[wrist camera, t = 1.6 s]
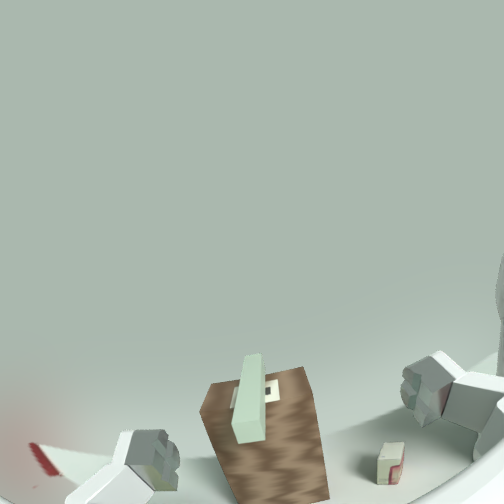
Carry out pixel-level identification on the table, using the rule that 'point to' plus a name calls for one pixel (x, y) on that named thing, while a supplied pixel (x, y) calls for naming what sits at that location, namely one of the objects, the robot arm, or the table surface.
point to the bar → (250, 401)
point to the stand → (270, 443)
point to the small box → (390, 463)
